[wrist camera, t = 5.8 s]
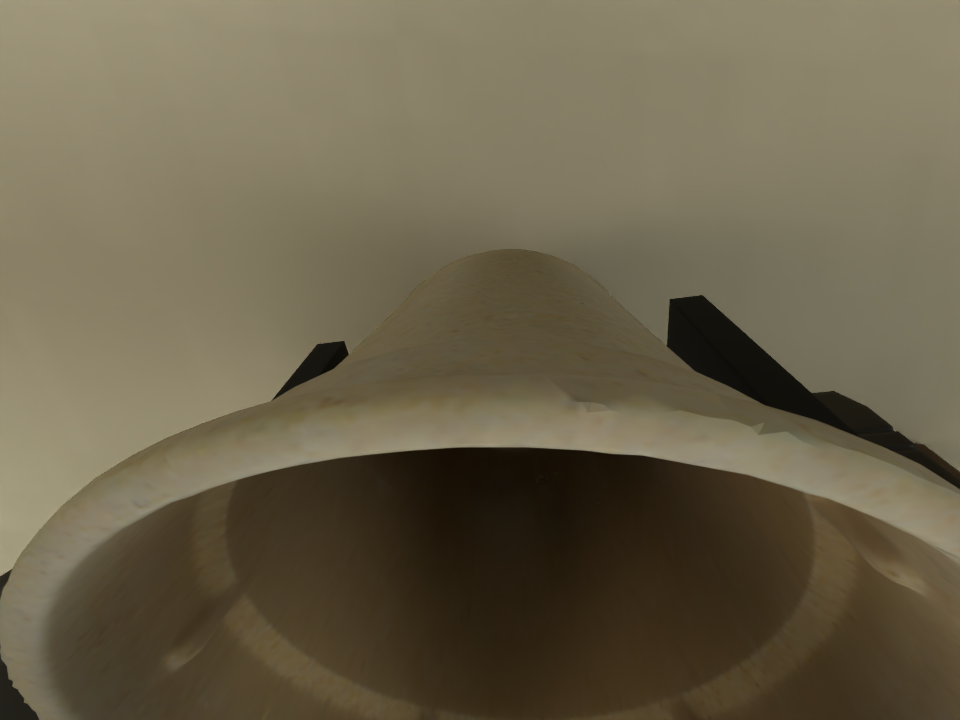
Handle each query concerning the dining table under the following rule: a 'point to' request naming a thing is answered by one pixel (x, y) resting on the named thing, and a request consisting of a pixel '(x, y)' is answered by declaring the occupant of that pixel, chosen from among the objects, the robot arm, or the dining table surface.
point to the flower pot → (497, 541)
